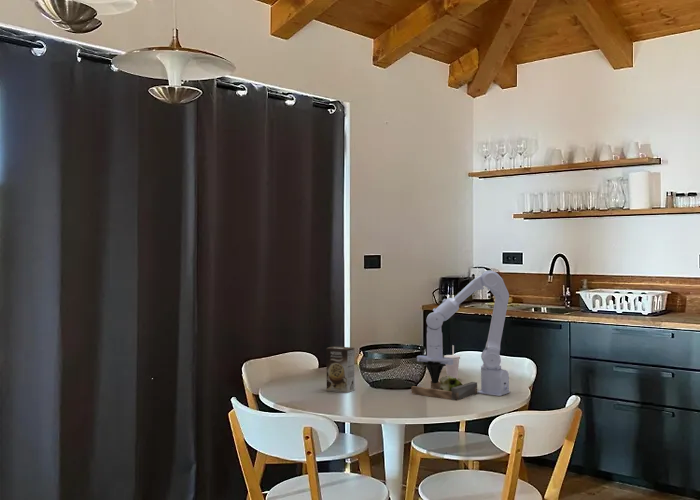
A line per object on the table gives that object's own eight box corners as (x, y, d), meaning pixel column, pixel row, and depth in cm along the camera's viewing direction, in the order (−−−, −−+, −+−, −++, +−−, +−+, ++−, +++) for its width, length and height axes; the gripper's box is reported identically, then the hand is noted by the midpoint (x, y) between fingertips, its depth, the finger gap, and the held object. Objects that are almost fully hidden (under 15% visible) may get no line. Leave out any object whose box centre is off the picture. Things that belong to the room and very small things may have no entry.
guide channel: (477, 393, 246) (477, 382, 246) (456, 400, 235) (456, 388, 235) (433, 387, 258) (432, 376, 258) (411, 393, 248) (411, 382, 248)
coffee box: (325, 391, 255) (325, 347, 255) (334, 388, 260) (333, 345, 260) (347, 393, 250) (346, 349, 250) (355, 389, 256) (354, 346, 256)
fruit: (460, 400, 241) (456, 379, 240) (435, 400, 245) (432, 379, 245) (468, 391, 249) (465, 370, 248) (444, 391, 253) (441, 370, 252)
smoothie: (455, 382, 267) (455, 346, 267) (441, 380, 271) (440, 345, 271) (463, 379, 272) (462, 344, 272) (449, 378, 276) (448, 343, 276)
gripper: (412, 345, 251) (412, 382, 251) (445, 348, 242) (446, 386, 242) (422, 343, 256) (423, 379, 256) (456, 346, 247) (456, 383, 247)
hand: (435, 382), depth 249 cm, fingers closed
